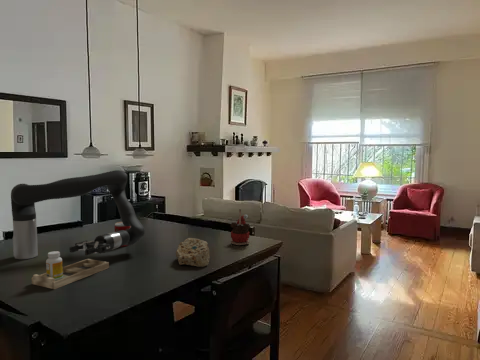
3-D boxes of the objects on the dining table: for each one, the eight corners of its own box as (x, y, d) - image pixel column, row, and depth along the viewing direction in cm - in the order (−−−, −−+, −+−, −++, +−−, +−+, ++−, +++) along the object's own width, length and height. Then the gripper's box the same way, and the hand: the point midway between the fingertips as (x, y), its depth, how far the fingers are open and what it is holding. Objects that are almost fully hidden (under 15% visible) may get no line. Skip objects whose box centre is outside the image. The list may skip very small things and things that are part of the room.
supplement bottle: (65, 275, 143) (64, 250, 142) (59, 280, 138) (58, 254, 137) (50, 275, 143) (49, 250, 142) (44, 280, 138) (42, 254, 137)
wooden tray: (31, 284, 138) (31, 274, 138) (87, 264, 162) (87, 256, 162) (54, 289, 133) (54, 279, 133) (109, 267, 157) (108, 259, 156)
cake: (226, 244, 194) (226, 209, 193) (235, 240, 203) (235, 207, 201) (245, 247, 190) (245, 211, 188) (253, 242, 198) (253, 208, 196)
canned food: (114, 247, 189) (114, 225, 188) (115, 243, 196) (114, 222, 195) (130, 246, 191) (130, 224, 190) (130, 242, 198) (130, 221, 197)
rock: (214, 268, 159) (208, 246, 157) (180, 278, 158) (174, 256, 155) (209, 250, 179) (204, 230, 177) (179, 258, 178) (174, 238, 175)
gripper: (95, 231, 167) (64, 240, 152) (120, 235, 161) (90, 244, 146) (96, 248, 167) (65, 258, 153) (121, 252, 161) (91, 263, 147)
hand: (77, 251), depth 149 cm, fingers open, 8 cm apart
